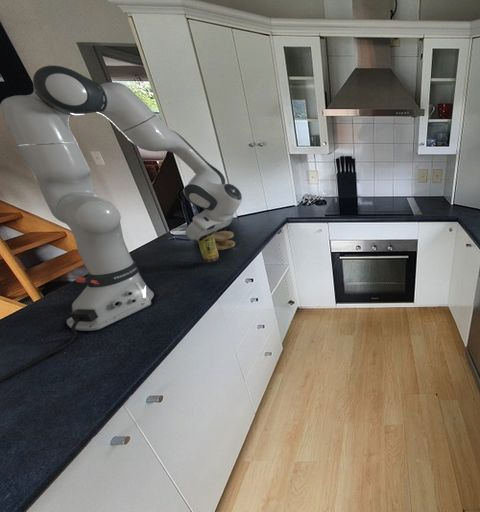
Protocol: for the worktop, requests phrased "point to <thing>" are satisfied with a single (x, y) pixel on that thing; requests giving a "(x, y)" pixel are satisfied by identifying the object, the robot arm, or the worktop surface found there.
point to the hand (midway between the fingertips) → (204, 236)
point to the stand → (224, 240)
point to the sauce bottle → (208, 248)
